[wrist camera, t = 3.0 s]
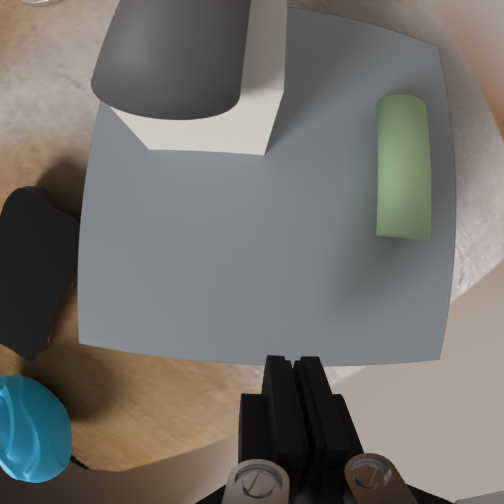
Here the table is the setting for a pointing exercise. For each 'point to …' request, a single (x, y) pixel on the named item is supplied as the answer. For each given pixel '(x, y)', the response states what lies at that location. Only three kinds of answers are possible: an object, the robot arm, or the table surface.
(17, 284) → the black sponge
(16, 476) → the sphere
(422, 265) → the plate
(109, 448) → the table surface
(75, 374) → the table surface
